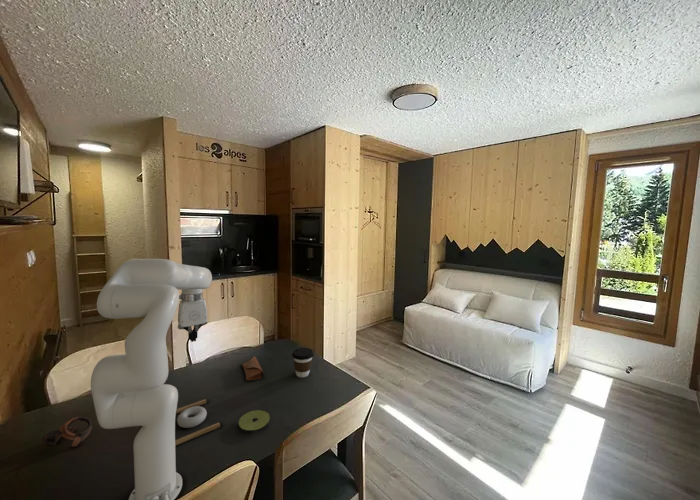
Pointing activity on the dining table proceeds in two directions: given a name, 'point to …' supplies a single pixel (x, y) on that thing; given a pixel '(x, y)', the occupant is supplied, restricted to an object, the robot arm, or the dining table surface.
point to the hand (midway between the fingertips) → (193, 340)
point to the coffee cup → (302, 361)
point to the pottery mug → (68, 432)
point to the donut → (188, 422)
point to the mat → (254, 420)
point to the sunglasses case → (252, 369)
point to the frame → (197, 431)
